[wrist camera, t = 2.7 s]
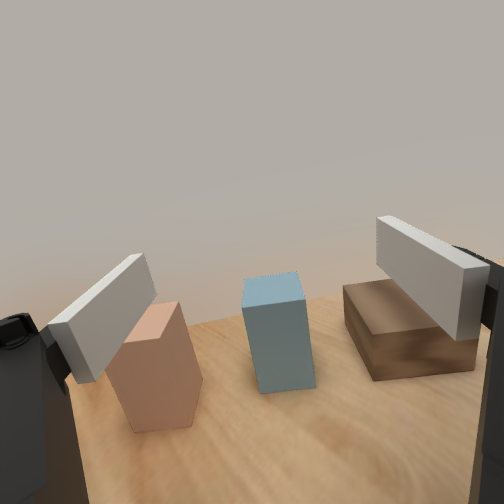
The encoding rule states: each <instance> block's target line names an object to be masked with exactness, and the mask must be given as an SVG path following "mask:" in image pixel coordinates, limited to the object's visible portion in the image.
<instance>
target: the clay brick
mask: <svg viewBox="0 0 504 504" xmlns="http://www.w3.org/2000/svg"><path fill="white" fill-rule="evenodd" d="M105 371H106V373H107V375H108V378H109V380H110V382H111V384H112V386H113V388H114V390H115V392H116V395H117V397H118V399H119V401H120V403H121V405H122V407H123V409H124V412H125V414H126V416H127V418H128V420H129V422H130V424H131V426H132V429H133V431H134V433H137V432H147V431H157V430H167V429H177V428H186V427H192V422H193V418H194V414H195V410H196V406H197V402H198V397H199V393H200V389H201V385H202V381H203V378H202V375H201V371H200V368H199V365H198V362H197V359H196V355H195V352H194V349H193V346H192V342H191V339H190V336H189V333H188V330H187V326H186V323H185V320H184V317H183V313H182V310H181V307H180V304H179V301H176V302H170V303H162V304H155V305H149V307H148V308H147V310H146V311H145V313H144V314H143V315H142V317H141V318H140V320H139V321H138V323H137V324H136V325H135V327H134V328H133V330H132V331H131V333H130V334H129V336H128V337H127V338H126V340H125V341H124V343H123V344H122V346H121V347H120V348H119V350H118V351H117V353H116V354H115V356H114V357H113V358H112V360H111V361H110V363H109V364H108V366H107V367H106V368H105Z"/></svg>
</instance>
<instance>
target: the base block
mask: <svg viewBox="0 0 504 504" xmlns="http://www.w3.org/2000/svg"><path fill="white" fill-rule="evenodd" d="M343 299H344V316H345V325H346V327H347V329H348V331H349V333H350V335H351V337H352V339H353V341H354V343H355V345H356V347H357V349H358V351H359V353H360V355H361V357H362V359H363V361H364V363H365V365H366V367H367V369H368V371H369V373H370V375H371V377H372V379H373V381H381V380H390V379H399V378H408V377H417V376H426V375H435V374H444V373H454V372H463V371H472V370H474V367H475V360H476V354H477V347H478V341H479V338H478V339H470V340H461V341H455V340H454V339H453V338H452V337H451V336H450V335H449V334H448V333H447V332H446V331H445V330H444V329H442V328H441V327H440V326H439V325H438V324H437V323H436V322H435V321H434V320H433V319H432V318H431V317H430V316H429V315H428V314H427V313H426V312H425V311H424V310H423V309H422V308H421V307H420V306H419V305H418V304H417V303H416V302H415V301H414V300H413V299H412V298H411V297H410V296H409V295H408V294H407V293H406V292H405V291H404V290H403V289H402V288H401V287H399V286H398V285H397V284H396V283H395V282H394V281H393V280H392V279H386V280H379V281H373V282H366V283H358V284H350V285H344V286H343Z"/></svg>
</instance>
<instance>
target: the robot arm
mask: <svg viewBox="0 0 504 504" xmlns="http://www.w3.org/2000/svg"><path fill="white" fill-rule="evenodd" d="M377 265H378V266H379V267H380V268H381V269H382V270H383V271H384V272H385V273H386V274H387V275H388V276H389V277H390V278H391V279H392V280H393V281H394V282H395V283H396V284H397V285H398V286H399V287H401V288H402V289H403V290H404V291H405V292H406V293H407V294H408V295H409V296H410V297H411V298H412V299H413V300H414V301H415V302H416V303H417V304H418V305H419V306H420V307H421V308H422V309H423V310H424V311H425V312H426V313H427V314H428V315H429V316H430V317H431V318H432V319H433V320H434V321H435V322H436V323H437V324H438V325H439V326H440V327H441V328H442V329H444V330H445V331H446V332H447V333H448V334H449V335H450V336H451V337H452V338H453V339H454V340H455V341H461V340H470V339H478V338H479V334H480V328H481V323H482V324H483V325H485V326H486V327H487V328H489V329H490V330H491V334H490V340H489V346H488V351H487V357H486V358H487V363H486V371H485V379H484V386H483V394H482V402H481V410H480V417H479V425H478V433H477V441H476V448H475V456H474V464H473V472H472V480H471V487H470V495H469V503H468V504H504V267H502V266H500V265H498V264H496V263H494V262H492V261H490V260H488V259H484V257H482V256H480V255H476V254H475V253H473V252H471V251H469V250H467V249H464V248H460V247H456V246H453V245H449V244H447V243H445V242H443V241H441V240H439V239H437V238H435V237H433V236H431V235H429V234H427V233H425V232H423V231H421V230H419V229H417V228H415V227H413V226H411V225H409V224H407V223H405V222H403V221H401V220H399V219H397V218H395V217H393V216H384V217H378V218H377ZM156 295H157V293H156V290H155V287H154V284H153V281H152V278H151V274H150V272H149V268H148V265H147V262H146V260H145V256H144V253H140V254H133V255H130V256H129V257H128V258H127V259H125V260H124V261H123V262H122V263H120V264H119V265H118V266H117V267H116V268H115V269H114V270H112V271H111V272H110V273H108V274H107V275H106V276H105V277H103V278H102V279H101V280H100V281H99V282H97V283H96V284H95V285H94V286H93V287H92V288H90V289H89V290H88V291H87V292H85V293H84V294H83V295H82V296H81V297H79V298H78V299H77V300H76V301H74V302H73V303H72V304H71V305H70V306H69V307H67V308H66V309H65V310H64V311H63V312H61V313H60V314H59V315H58V316H56V317H55V318H54V319H53V320H52V321H50V322H49V323H48V324H47V326H46V327H45V328H43V329H42V330H41V331H40V332H38V330H37V328H36V326H35V324H34V322H33V320H32V318H31V317H30V315H29V314H28V313H20V314H16V315H12V316H9V317H6V318H4V319H2V320H0V504H89V499H88V494H87V488H86V483H85V477H84V471H83V466H82V460H81V455H80V449H79V444H78V438H77V433H76V427H75V421H74V416H73V410H72V405H71V399H70V394H69V388H68V386H67V384H66V382H65V379H66V377H67V376H68V375H69V374H70V373H71V372H72V374H73V376H74V378H75V380H76V382H77V384H82V383H90V382H96V381H97V380H98V378H99V377H100V376H101V374H102V373H103V371H104V370H105V368H106V367H107V366H108V364H109V363H110V361H111V360H112V358H113V357H114V356H115V354H116V353H117V351H118V350H119V348H120V347H121V346H122V344H123V343H124V341H125V340H126V338H127V337H128V336H129V334H130V333H131V331H132V330H133V328H134V327H135V325H136V324H137V323H138V321H139V320H140V318H141V317H142V315H143V314H144V313H145V311H146V310H147V308H148V307H149V305H150V304H151V302H152V301H153V300H154V298H155V297H156Z"/></svg>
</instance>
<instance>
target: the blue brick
mask: <svg viewBox="0 0 504 504" xmlns="http://www.w3.org/2000/svg"><path fill="white" fill-rule="evenodd" d="M242 312H243V317H244V321H245V326H246V331H247V335H248V340H249V344H250V349H251V354H252V358H253V363H254V367H255V372H256V377H257V381H258V386H259V390H260V394H265V393H274V392H283V391H292V390H302V389H311V388H316V385H315V376H314V368H313V359H312V351H311V342H310V334H309V325H308V317H307V308H306V300H305V296H304V293H303V290H302V286H301V283H300V280H299V277H298V274H297V271H296V272H290V273H283V274H276V275H270V276H262V277H255V278H248V279H245V280H244V290H243V299H242Z"/></svg>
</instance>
